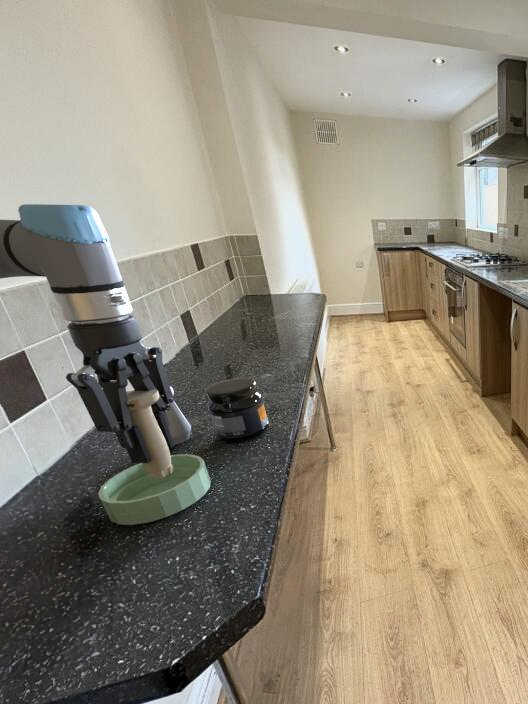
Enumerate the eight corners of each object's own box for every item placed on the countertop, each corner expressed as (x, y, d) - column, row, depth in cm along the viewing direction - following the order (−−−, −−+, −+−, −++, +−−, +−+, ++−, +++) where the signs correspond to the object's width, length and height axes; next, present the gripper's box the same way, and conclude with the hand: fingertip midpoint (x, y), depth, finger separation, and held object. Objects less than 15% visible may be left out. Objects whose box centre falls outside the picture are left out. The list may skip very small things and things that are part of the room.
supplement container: (274, 419, 101) (262, 374, 97) (265, 440, 92) (251, 391, 87) (225, 426, 98) (211, 379, 94) (210, 448, 89) (194, 398, 84)
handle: (139, 473, 71) (107, 394, 65) (185, 461, 74) (158, 386, 69) (136, 487, 67) (101, 405, 61) (184, 474, 71) (156, 396, 65)
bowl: (86, 526, 67) (73, 501, 65) (159, 475, 80) (150, 453, 78) (168, 529, 66) (158, 504, 64) (229, 477, 79) (222, 455, 77)
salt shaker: (191, 431, 96) (173, 380, 91) (196, 440, 92) (178, 387, 87) (160, 440, 92) (139, 387, 87) (163, 450, 88) (142, 395, 83)
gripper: (64, 334, 52) (129, 485, 61) (173, 306, 68) (212, 430, 77) (9, 333, 52) (82, 483, 62) (129, 305, 68) (173, 428, 77)
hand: (154, 453), depth 69 cm, fingers closed on handle, 4 cm apart
